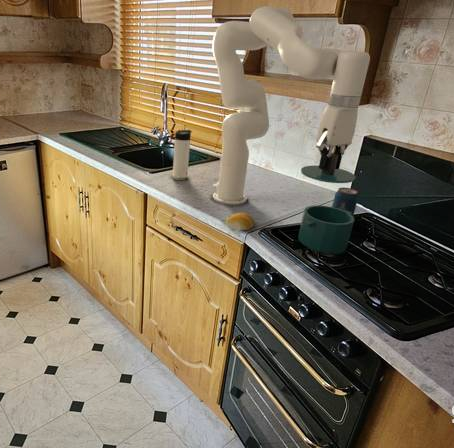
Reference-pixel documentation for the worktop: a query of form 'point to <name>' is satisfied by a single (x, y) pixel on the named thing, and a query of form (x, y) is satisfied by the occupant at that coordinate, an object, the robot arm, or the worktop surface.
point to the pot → (326, 229)
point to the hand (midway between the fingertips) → (328, 168)
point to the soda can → (346, 199)
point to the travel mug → (181, 154)
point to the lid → (329, 172)
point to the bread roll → (240, 221)
